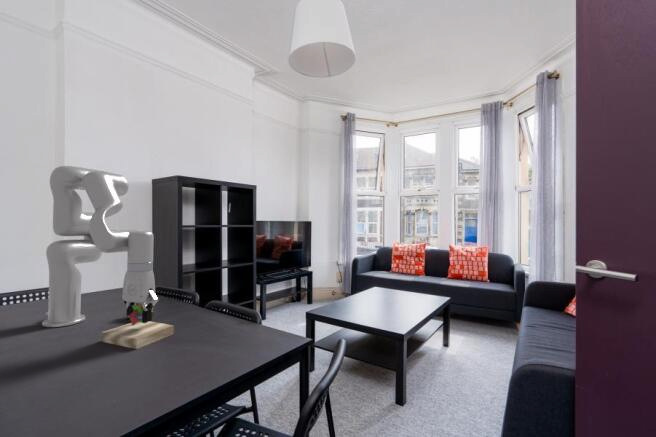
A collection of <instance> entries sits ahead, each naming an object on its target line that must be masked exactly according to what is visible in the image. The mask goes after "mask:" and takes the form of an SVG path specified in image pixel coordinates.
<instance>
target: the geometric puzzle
mask: <svg viewBox="0 0 656 437" xmlns="http://www.w3.org/2000/svg"><path fill="white" fill-rule="evenodd" d="M147 305H148V304H147ZM132 307H133V310H134V311H133V312H132V313H131V314H129V315H128V316H127V315H126V316H127V317H128V318H130V320H129V319H128V320H127V321H129V323H132V326H134V324H136V323H137V322H142V311H144V309H143V306H134V305H132ZM129 311H130V310H129Z"/></svg>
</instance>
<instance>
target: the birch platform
mask: <svg viewBox="0 0 656 437" xmlns="http://www.w3.org/2000/svg"><path fill="white" fill-rule="evenodd" d="M174 330H175V325H173V324H168V323H161V322H155V321H149V322H146V323H142V322H137V323H136V324H134V326H132V323H130V322H129V323H126V324H123V325H119V326H118V327H114V328H111V329H108V330H103V331H101V338H100V340H101V343H105V344H111V345H116V346H120V347H125V348H129V349H135V350H138V349H140V348H143V347H146V346H148V345H150V344H152V343H155V342H158V341H160V340H162V339H164V338H168V337H171V336H172V335H174V332H175V331H174Z"/></svg>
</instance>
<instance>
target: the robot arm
mask: <svg viewBox="0 0 656 437" xmlns="http://www.w3.org/2000/svg"><path fill="white" fill-rule="evenodd" d="M49 186H50V191H51V194H52V198H53V207H52V208H53V209H52V230H53V232H54V234H55V235H57V236H61V237H83V238H82V239H62V240H61V239H60V240H56V241H53V242H51V243H49V244H48V246H47V247H46V253H45V256H46V259H47V265H48V266H47V267H48V305H47V306H48V311H46V312H45V315H46V316H47V319H45V320H43V321H42V323H41V326H42V327H44V328H58V327H59V328H60V327H65V326H66V327H67V326H71V325H76V324H79V323H82V322H83V321H85V320H86V315H84V314H81V306H82V305H81V304H82V303H81V302H82V301H81V300H82V273H81V271H80V270H79V269H78V268H77V266H76V265H78V264H85V263H93V262H96V261H98V260H99V259H101V256H102V254H103V253H105V254H112V253H113V254H114V253H126V252H127V258H126V259H127V260H126V263H127V266H126V271H125V274H124V278H123V283H122V294H121V298H122V301H123V303H124V304H125V309H126V308H127V309H126V316H125V317H126V321H130V318H128V317H127V316H128V315H129V314H131V313H132V312H133V311H134V310H133V307H132V305H134V306H135V305H136V303H142V305H143V309H144V311H142V323H146V322H149V321H150V322H152V319H153V316H152V309H153V310H154V307H155V306H156V304H157V303H158V302H159V298H158V297H157V295H156V282H155V281H156V280H155V274H154V246H155V245H154V242H155V241H154V238H155V237H154V233H153V232H152V231H148V230H136V229H114V230H113V229H112V230H110V229H109V228H108V226H107V224H106V220H105V219H106V218H108V217H112V216H113V215H116V214H118V213H119V212H121V210H122V209H123V206H124V204H123V202H122V200H121V198H120V197H122V196H124V195H126V194H127V193H128V191H129V183H128V180H127V178H125V177H124V175H121V174H118V173H112V172H107V171H103V170H97V169H92V168H86V167H80V166H72V165H61V166H57V167H56V168H54V169H53V170H52V171H51V174H50V177H49ZM76 190H80V191H85V193H86V194H87V196H88V198H89V201H90V203H91V204H92V208H94V212H85V211H84V212H83V201H82V200H83V199H82V198H81V196H80V195H79V193H78V192H77V191H76ZM146 303H148V305H146ZM129 310H130V311H129ZM128 319H129V320H128Z"/></svg>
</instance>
